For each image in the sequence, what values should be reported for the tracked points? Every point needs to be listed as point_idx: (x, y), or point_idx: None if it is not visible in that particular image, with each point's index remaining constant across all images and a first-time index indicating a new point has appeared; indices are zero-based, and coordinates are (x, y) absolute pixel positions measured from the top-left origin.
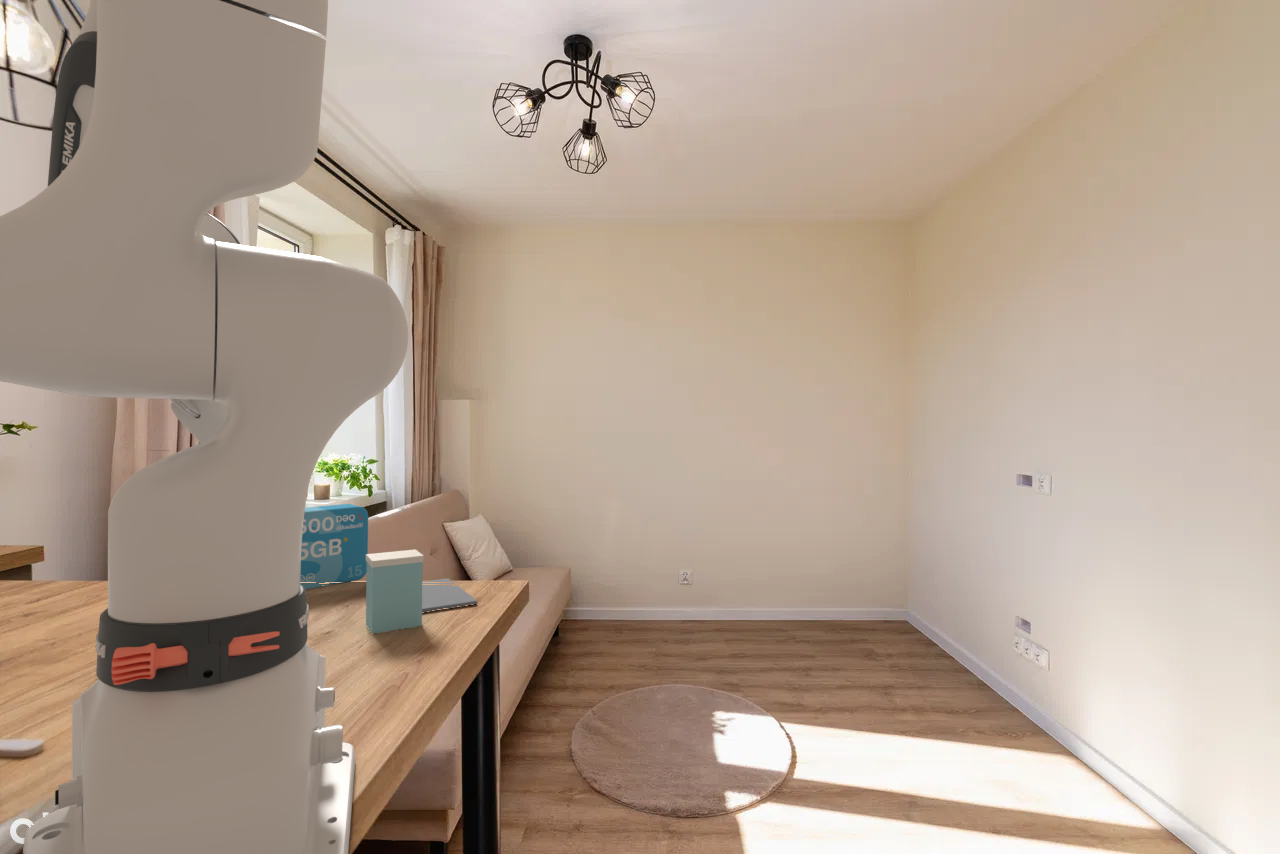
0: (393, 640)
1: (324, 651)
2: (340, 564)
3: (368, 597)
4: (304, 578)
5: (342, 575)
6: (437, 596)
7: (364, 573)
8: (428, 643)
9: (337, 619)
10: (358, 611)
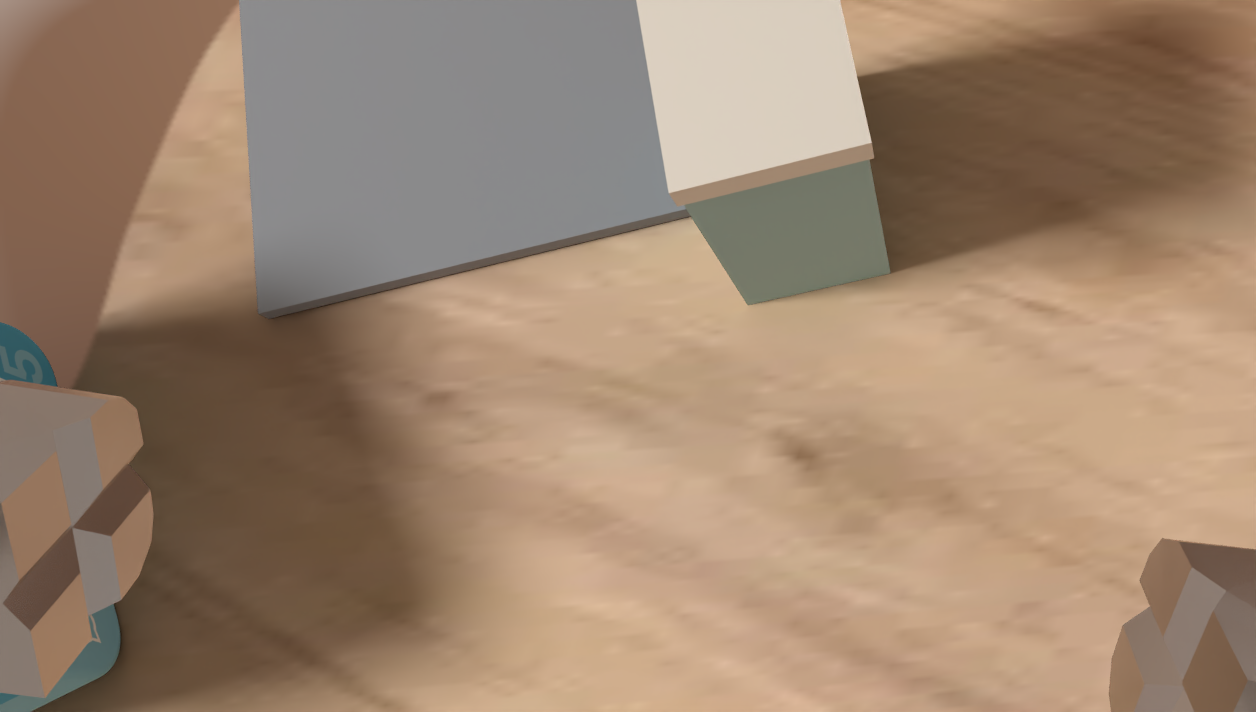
0: (1007, 183)
1: (1063, 452)
2: None
3: (779, 249)
4: None
5: None
6: (505, 17)
7: (30, 342)
8: (1094, 45)
9: (626, 428)
10: (541, 346)
